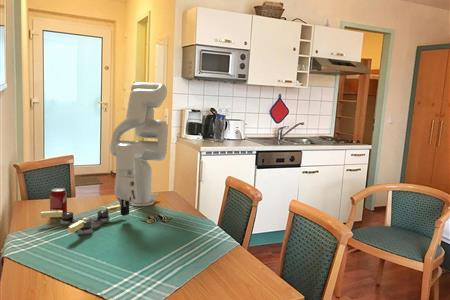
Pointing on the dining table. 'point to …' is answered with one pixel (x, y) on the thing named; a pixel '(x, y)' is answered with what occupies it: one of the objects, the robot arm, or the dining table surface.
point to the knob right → (57, 215)
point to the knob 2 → (108, 211)
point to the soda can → (58, 200)
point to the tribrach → (95, 223)
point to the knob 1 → (80, 226)
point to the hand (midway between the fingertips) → (124, 214)
